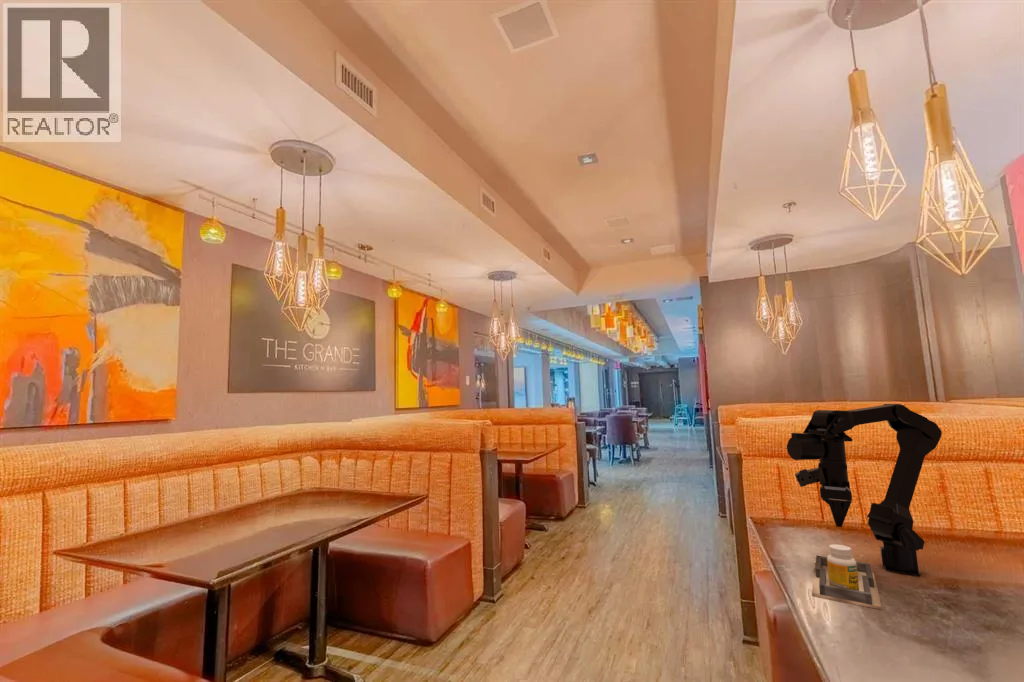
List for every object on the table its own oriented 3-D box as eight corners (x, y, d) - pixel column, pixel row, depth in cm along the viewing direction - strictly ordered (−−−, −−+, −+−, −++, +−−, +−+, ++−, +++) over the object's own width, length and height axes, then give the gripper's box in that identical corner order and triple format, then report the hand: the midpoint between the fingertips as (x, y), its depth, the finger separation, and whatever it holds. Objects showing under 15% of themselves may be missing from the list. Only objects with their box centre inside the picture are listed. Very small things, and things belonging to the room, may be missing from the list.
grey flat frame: (873, 575, 111) (872, 564, 111) (881, 609, 93) (880, 596, 93) (815, 565, 118) (814, 554, 118) (812, 595, 100) (811, 583, 100)
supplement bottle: (836, 585, 103) (831, 541, 105) (864, 593, 99) (859, 547, 100) (825, 591, 100) (821, 546, 102) (853, 600, 96) (849, 552, 97)
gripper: (797, 453, 128) (802, 510, 126) (793, 461, 113) (798, 526, 111) (846, 456, 122) (852, 516, 120) (848, 464, 107) (855, 533, 105)
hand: (838, 522), depth 114 cm, fingers open, 9 cm apart
